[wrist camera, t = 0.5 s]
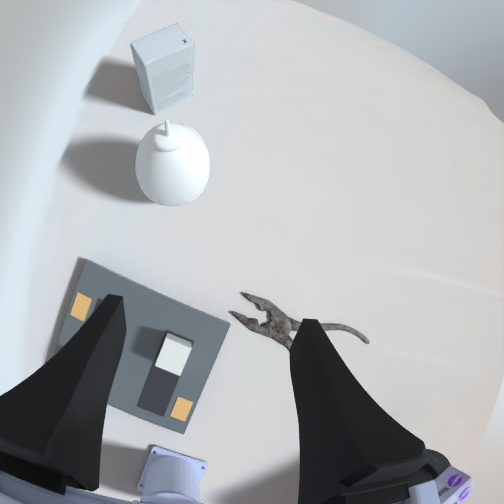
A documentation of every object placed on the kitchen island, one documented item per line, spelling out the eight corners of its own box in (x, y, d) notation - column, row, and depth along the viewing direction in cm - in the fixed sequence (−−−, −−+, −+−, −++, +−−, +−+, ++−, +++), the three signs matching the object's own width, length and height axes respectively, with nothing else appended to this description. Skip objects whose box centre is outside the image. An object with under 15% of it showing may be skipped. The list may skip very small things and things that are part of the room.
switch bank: (183, 429, 37) (183, 434, 36) (53, 371, 35) (48, 374, 33) (229, 322, 39) (230, 324, 38) (90, 260, 37) (86, 259, 35)
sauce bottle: (144, 156, 39) (118, 81, 21) (204, 153, 40) (218, 76, 22) (144, 216, 38) (111, 174, 21) (207, 212, 40) (222, 167, 22)
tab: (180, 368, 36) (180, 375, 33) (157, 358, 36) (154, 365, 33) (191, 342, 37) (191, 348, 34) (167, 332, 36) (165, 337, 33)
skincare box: (178, 76, 40) (179, 21, 28) (193, 96, 40) (197, 43, 28) (140, 94, 39) (128, 42, 27) (153, 116, 39) (144, 66, 27)
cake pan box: (410, 432, 44) (478, 474, 27) (415, 449, 44) (478, 491, 27) (314, 494, 40) (361, 562, 23) (323, 509, 40) (369, 573, 23)
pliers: (349, 397, 42) (214, 363, 38) (346, 395, 42) (214, 361, 39) (373, 334, 43) (241, 290, 40) (370, 333, 44) (240, 289, 40)
